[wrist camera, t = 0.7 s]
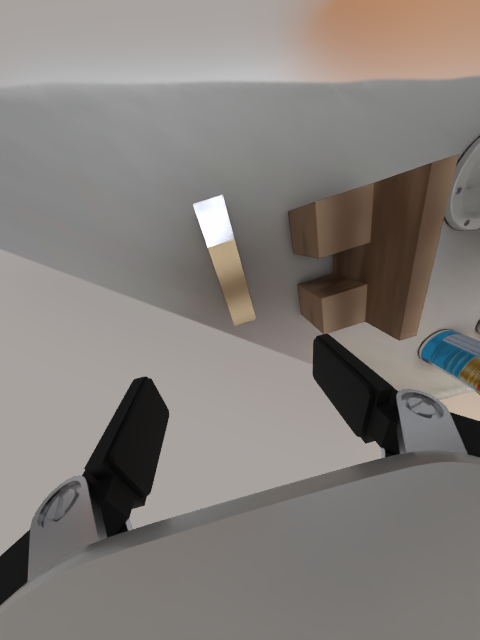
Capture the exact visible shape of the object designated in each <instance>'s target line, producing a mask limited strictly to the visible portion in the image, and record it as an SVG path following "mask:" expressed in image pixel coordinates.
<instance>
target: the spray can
mask: <svg viewBox="0 0 480 640" xmlns="http://www.w3.org/2000/svg"><path fill="white" fill-rule="evenodd" d="M477 332H478V333H480V321H479V322H478V325H477Z"/></svg>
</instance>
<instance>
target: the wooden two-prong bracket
mask: <svg viewBox="0 0 480 640" xmlns="http://www.w3.org/2000/svg"><path fill="white" fill-rule="evenodd" d="M458 156H459V154H458V155H455V156H452V157H449V158H445V159H442V160H439V161H436V162H433V163H430V164H427V165H424V166H421V167H418V168H416V169H413V170H410V171H407V172H404V173H401V174H398V175H395V176H392V177H389V178H387V179H384V180H381V181H378V182H375V183H372V184H369V185H366V186H363V187H359V188H356V189H353V190H350V191H347V192H344V193H341V194H338V195H335V196H332V197H328V198H325V199H322V200H319V201H316V202H313V203H310V204H308V205H305V206H302V207H299V208H296V209H294V210H291V211H288V214H289V222H290V230H291V237H292V245H293V253H294V254H299V255H304V256H309V257H314V258H322V257H325V256H329V255H332V254H333V274H331V275H328V276H324V277H321V278H318V279H315V280H312V281H309V282H306V283H302V284H299V285H298V291H299V299H300V307H301V314H302V315H303V316H304V317H305V318H306V319H307V320H308V321H310V322H311V323H312V324H313V325H314V326H315V327H316V328H317V329H319V330H320V331H321V332H322V333H323V334H327V333H330V332H333V331H336V330H340V329H343V328H346V327H349V326H352V325H355V324H359V323H362V322H367V323H369V324H371V325H372V326H374V327H376V328H378V329H380V330H381V331H383V332H385V333H387V334H388V335H390V336H392V337H394V338H396V339H397V340H399V341H400V340H403V339H407V338H410V337H413V336H416V335H417V331H418V327H419V323H420V318H421V314H422V310H423V306H424V301H425V297H426V293H427V288H428V284H429V280H430V276H431V271H432V267H433V263H434V259H435V254H436V250H437V246H438V242H439V237H440V233H441V229H442V224H443V220H444V216H445V212H446V207H447V203H448V199H449V195H450V190H451V186H452V182H453V178H454V173H455V169H456V165H457V160H458Z"/></svg>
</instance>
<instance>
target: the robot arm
mask: <svg viewBox="0 0 480 640" xmlns="http://www.w3.org/2000/svg"><path fill="white" fill-rule="evenodd" d="M445 217H446V220H447V222H448V223H449V225H450V226H452V227H453V228H454V229H458V230H476V229H479V228H480V137H479V138H478V139H477V140H476V141H475V142H474V143H473V144H472V145H471V147H470V148H469V149H468V150H467V151H466V153H465V154H464V155H463V157H462V158H461V160H460V161H459V163H458V164H457V166H456V169H455V173H454V178H453V182H452V186H451V190H450V195H449V199H448V203H447V207H446V212H445ZM313 377H314V379H315V380H316V382H317V383H318V385H319V386H320V387H321V389H322V390H323V391H324V393H325V394H326V395H327V397H328V398H329V399H330V401H331V402H332V404H333V405H334V406H335V408H336V409H337V410H338V412H339V413H340V415H341V416H342V417H343V419H344V420H345V421H346V423H347V424H348V425H349V427H350V428H351V429H352V431H353V432H354V433H355V435H356V436H358V437H361V438H362V440H363V441H364V442H365V443H369V442H373V441H376V442H377V443H378V445H379V446H380V447H381V452H382V458H381V459H377V460H374V461H370V462H366V463H362V464H358V465H354V466H351V467H347V468H343V469H340V470H336V471H333V472H329V473H326V474H322V475H319V476H315V477H311V478H308V479H305V480H301V481H297V482H294V483H290V484H287V485H283V486H280V487H276V488H273V489H269V490H266V491H262V492H259V493H255V494H252V495H248V496H245V497H241V498H238V499H235V500H231V501H228V502H224V503H220V504H217V505H213V506H210V507H207V508H203V509H200V510H196V511H193V512H190V513H186V514H183V515H179V516H176V517H173V518H169V519H166V520H162V521H159V522H155V523H152V524H149V525H146V526H143V527H140V528H136V529H133V528H132V525H131V523H130V520H129V517H130V513H131V510H132V509H133V508H137V507H140V506H144V505H145V501H146V497H147V495H149V494H150V492H151V489H152V485H153V481H154V477H155V472H156V468H157V464H158V460H159V455H160V452H161V448H162V443H163V439H164V435H165V431H166V427H167V423H168V418H169V410H168V409H167V406H166V404H165V403H164V401H163V399H162V397H161V396H160V394H159V392H158V390H157V388H156V386H155V385H154V383H153V381H152V379H150V378H149V379H148V377H141V378H137V379H134V380H133V382H132V384H131V385H130V387H129V389H128V391H127V393H126V394H125V396H124V398H123V400H122V401H121V403H120V405H119V407H118V409H117V410H116V412H115V414H114V416H113V418H112V419H111V421H110V423H109V425H108V427H107V429H106V430H105V432H104V434H103V436H102V437H101V439H100V441H99V443H98V445H97V446H96V448H95V450H94V452H93V454H92V455H91V457H90V459H89V461H88V463H87V465H86V466H85V472H84V473H83V475H82V476H80V475H79V476H74V477H72V478H70V479H68V480H66V481H65V482H63V483H62V484H60V485H59V486H58V487H57V488H56V489H55V490H53V491H52V492H51V493H50V494H49V496H48V497H47V498H46V499H45V500H44V501H43V503H42V504H41V505H40V507H39V508H38V510H37V511H36V513H35V516H34V517H33V519H32V523H31V528H30V530H29V531H28V532H27V533H26V534H24V535H23V536H22V537H21V538H20V539H19V540H18V541H17V542H16V543H15V544H13V545H12V546H11V547H10V548H9V549H8V550H7V551H6V552H5V553H3V554H2V555H1V556H0V640H480V421H477V420H473V419H470V418H467V417H464V416H460V415H457V414H454V413H451V412H449V411H448V409H447V408H446V406H445V405H444V404H443V403H442V402H440V401H439V400H438V399H436V398H435V397H433V396H431V395H429V394H427V393H424V392H421V391H418V390H412V389H404V390H401V391H399V392H398V391H397V390H396V389H394V387H392V386H391V385H390V384H389V383H388V382H386V381H385V380H384V379H383V378H381V377H380V376H379V375H378V374H377V373H375V372H374V371H373V370H372V369H370V368H369V367H368V366H367V365H365V364H364V363H363V362H362V361H361V360H359V359H358V358H357V357H356V356H354V355H353V354H352V353H351V352H350V351H348V350H347V349H346V348H345V347H343V346H342V345H341V344H340V343H338V342H337V341H336V340H335V339H334V338H332V337H331V336H330V335H329V334H323V335H319V336H317V337H316V339H314V342H313Z"/></svg>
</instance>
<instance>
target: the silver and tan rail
mask: <svg viewBox="0 0 480 640" xmlns="http://www.w3.org/2000/svg"><path fill="white" fill-rule="evenodd" d="M193 207H194V209H195V212H196V215H197V218H198V221H199V224H200V227H201V230H202V233H203V236H204V238H205V241H206V244H207V247H208V250H209V253H210V256H211V259H212V262H213V265H214V267H215V270H216V273H217V276H218V279H219V282H220V285H221V288H222V291H223V294H224V296H225V299H226V302H227V305H228V308H229V311H230V314H231V317H232V320H233V323H234V325H235V326H237V325H240V324H243V323H246V322H249V321H252V320H255V319H256V316H255V313H254V309H253V305H252V302H251V298H250V294H249V291H248V287H247V283H246V279H245V276H244V272H243V268H242V265H241V261H240V257H239V254H238V250H237V246H236V243H235V239H234V235H233V231H232V228H231V224H230V220H229V217H228V213H227V209H226V206H225V202H224V198H223V195H220V196H217V197H214V198H211V199H208V200H205V201H201V202H198V203H195V204H193Z"/></svg>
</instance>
